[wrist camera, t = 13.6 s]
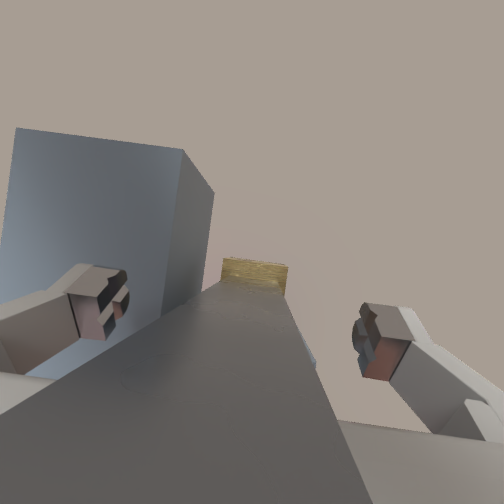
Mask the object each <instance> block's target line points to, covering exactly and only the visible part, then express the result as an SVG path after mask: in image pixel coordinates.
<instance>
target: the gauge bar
mask: <svg viewBox="0 0 504 504" xmlns="http://www.w3.org/2000/svg"><path fill="white" fill-rule="evenodd" d="M222 266H223V267H222V273H221V280H220V281H219V282H218V283H216V284H214V285H213V286H211V287H209V288H208V289H206V290H205V291H203V292H201V293H199V294H198V295H196V296H195V297H193V298H191V299H190V300H188V301H186V302H185V303H183V304H181V305H180V306H178V307H176V308H175V309H173V310H172V311H170V312H168V313H167V314H165V315H163V316H162V317H160V318H158V319H157V320H155V321H153V322H152V323H150V324H149V325H147V326H145V327H144V328H142V329H140V330H139V331H137V332H135V333H134V334H132V335H130V336H129V337H127V338H126V339H124V340H122V341H121V342H119V343H117V344H116V345H114V346H112V347H111V348H109V349H107V350H106V351H104V352H103V353H101V354H99V355H98V356H96V357H94V358H93V359H91V360H89V361H88V362H86V363H84V364H83V365H81V366H80V367H78V368H76V369H75V370H73V371H71V372H70V373H68V374H66V375H65V376H63V377H61V378H60V379H58V380H57V381H55V382H53V383H52V384H50V385H48V386H47V387H45V388H43V389H42V390H40V391H38V392H37V393H35V394H34V395H32V396H30V397H29V398H27V399H25V400H24V401H22V402H20V403H19V404H17V405H15V406H14V407H12V408H11V409H9V410H7V411H6V412H4V413H2V414H1V415H0V504H373V503H372V500H371V498H370V496H369V493H368V491H367V489H366V486H365V484H364V482H363V479H362V477H361V475H360V472H359V470H358V468H357V465H356V463H355V461H354V458H353V456H352V454H351V451H350V449H349V447H348V444H347V442H346V440H345V437H344V435H343V433H342V430H341V428H340V426H339V423H338V421H337V419H336V417H335V414H334V412H333V410H332V408H331V405H330V403H329V400H328V398H327V396H326V393H325V391H324V389H323V386H322V384H321V382H320V379H319V377H318V375H317V372H316V370H315V368H314V365H313V363H312V361H311V358H310V356H309V354H308V351H307V349H306V347H305V344H304V342H303V340H302V337H301V335H300V333H299V330H298V328H297V326H296V323H295V321H294V319H293V316H292V314H291V312H290V310H289V307H288V305H287V302H286V300H285V298H284V294H285V287H286V279H287V272H288V267H287V266H286V265H284V264H277V263H270V262H262V261H255V260H247V259H240V258H233V257H230V258H224V259H223V265H222Z"/></svg>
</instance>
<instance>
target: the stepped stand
mask: <svg viewBox="0 0 504 504" xmlns="http://www.w3.org/2000/svg"><path fill="white" fill-rule="evenodd" d="M213 200H214V192H213V190H212V189H211V187H210V186H209V185H208V183H207V182H206V180H205V179H204V178H203V176H202V175H201V174H200V172H199V171H198V169H197V168H196V167H195V165H194V164H193V163H192V161H191V160H190V158H189V157H188V156H187V154H186V153H185V151H184V150H183V149H177V148H169V147H161V146H153V145H146V144H138V143H131V142H123V141H115V140H108V139H99V138H92V137H84V136H77V135H69V134H61V133H54V132H46V131H39V130H31V129H23V128H16V131H15V139H14V147H13V154H12V162H11V169H10V177H9V185H8V192H7V200H6V207H5V215H4V222H3V230H2V237H1V245H0V304H3V303H6V302H9V301H12V300H14V299H17V298H20V297H23V296H26V295H28V294H31V293H34V292H37V291H40V290H44V291H46V290H47V289H48V288H49V287H51V286H52V285H53V284H54V283H55V282H56V281H57V280H59V279H60V278H61V277H62V276H63V275H64V274H66V273H67V272H68V271H69V270H70V269H71V268H73V267H74V266H75V265H76V264H79V263H85V264H92V265H99V266H105V267H112V268H118V269H123V270H125V271H126V273H127V279H128V280H127V281H126V283H125V284H124V285H125V286H126V287H127V288H128V290H129V294H130V299H129V305H128V308H127V311H126V312H125V314H124V315H123V317H121V318H119V319H117V320H115V322H116V327H115V328H114V330H113V331H112V333H111V334H110V336H109V337H108V339H107V340H106V341H101V340H92V339H83V338H79V340H78V341H76V342H75V343H73V344H72V345H70V346H69V347H67V348H65V349H64V350H62V351H61V352H59V353H58V354H56V355H55V356H53V357H51V358H50V359H48V360H47V361H45V362H44V363H42V364H40V365H39V366H37V367H36V368H34V369H33V370H31V371H29V372H28V373H26V374H25V375H27V376H34V377H41V378H48V379H55V380H58V379H60V378H61V377H63V376H65V375H66V374H68V373H70V372H71V371H73V370H75V369H76V368H78V367H80V366H81V365H83V364H84V363H86V362H88V361H89V360H91V359H93V358H94V357H96V356H98V355H99V354H101V353H103V352H104V351H106V350H107V349H109V348H111V347H112V346H114V345H116V344H117V343H119V342H121V341H122V340H124V339H126V338H127V337H129V336H130V335H132V334H134V333H135V332H137V331H139V330H140V329H142V328H144V327H145V326H147V325H149V324H150V323H152V322H153V321H155V320H157V319H158V318H160V317H162V316H163V315H165V314H167V313H168V312H170V311H172V310H173V309H175V308H176V307H178V306H180V305H181V304H183V303H185V302H186V301H188V300H190V299H191V298H193V297H195V296H196V295H198V294H199V293H201V289H202V282H203V275H204V267H205V259H206V252H207V245H208V238H209V230H210V222H211V215H212V208H213ZM296 326H297V325H296ZM297 328H298V327H297ZM298 330H299V329H298ZM299 333H300V331H299ZM300 335H301V333H300ZM301 337H302V340H303V342H304V344H305V347H306V349H307V351H308V354H309V356H310V358H311V361H312V363H313V365H314V368H316V361H315V359H314V357H313V355H312V353H311V351H310V349H309V348H308V346H307V344H306V342H305V340H304V338H303V336H302V335H301Z"/></svg>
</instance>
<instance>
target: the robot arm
mask: <svg viewBox="0 0 504 504" xmlns="http://www.w3.org/2000/svg"><path fill="white" fill-rule="evenodd" d="M127 280H128V279H127V273H126V271H125V270H123V269H118V268H112V267H105V266H99V265H92V264H85V263H79V264H76V265H75V266H74V267H73V268H71V269H70V270H69V271H68V272H67V273H66V274H64V275H63V276H62V277H61V278H60V279H59V280H57V281H56V282H55V283H54V284H53V285H52V286H51V287H49V288H48V289H47V290H46V291H44V290H40V291H37V292H34V293H31V294H28V295H26V296H23V297H20V298H17V299H14V300H12V301H9V302H6V303H3V304H0V415H1V414H2V413H4V412H6V411H7V410H9V409H11V408H12V407H14V406H15V405H17V404H19V403H20V402H22V401H24V400H25V399H27V398H29V397H30V396H32V395H34V394H35V393H37V392H38V391H40V390H42V389H43V388H45V387H47V386H48V385H50V384H52V383H53V382H55V381H57V380H55V379H48V378H41V377H34V376H27V375H25V374H26V373H28V372H29V371H31V370H33V369H34V368H36V367H37V366H39V365H40V364H42V363H44V362H45V361H47V360H48V359H50V358H51V357H53V356H55V355H56V354H58V353H59V352H61V351H62V350H64V349H65V348H67V347H69V346H70V345H72V344H73V343H75V342H76V341H78V340H79V338H83V339H92V340H101V341H106V340H107V339H108V337H109V336H110V334H111V333H112V331H113V330H114V328H115V327H116V322H115V320H117V319H119V318H121V317H123V315H124V314H125V312H126V311H127V308H128V305H129V299H130V294H129V290H128V288H127V287H126V286H125V285H124V284H125V283H126V281H127ZM359 312H360V315H361V318H359V319H358V320H357V321H355V324H354V326H353V332H352V342H353V346H354V349H355V350H356V351H357V352H358V353H359V354H360V355H359V357H358V363H359V367H360V370H361V373H362V377H365V378H371V379H377V380H383V381H389V383H390V385H391V386H392V387H393V388H394V389H395V390H396V392H397V393H398V394H399V395H400V396H401V397H402V398H403V400H404V401H405V402H406V403H407V404H408V406H409V407H411V409H412V410H413V411H414V413H415V414H416V415H417V416H418V417H419V418H420V419H421V421H422V422H423V423H424V424H425V425H426V426H427V428H428V429H429V430H430V431H431V432H432V433H433V434H432V433H425V432H418V431H411V430H404V429H397V428H390V427H383V426H376V425H369V424H362V423H355V422H348V421H341V420H337V421H338V423H339V426H340V428H341V430H342V433H343V435H344V437H345V440H346V442H347V444H348V447H349V449H350V451H351V454H352V456H353V458H354V461H355V463H356V465H357V468H358V470H359V472H360V475H361V477H362V479H363V482H364V484H365V486H366V489H367V491H368V493H369V496H370V498H371V500H372V503H373V504H504V392H503V391H502V390H500V389H499V388H498V387H496V386H495V385H493V384H492V383H491V382H489V381H488V380H487V379H485V378H484V377H482V376H481V375H480V374H478V373H477V372H476V371H474V370H473V369H471V368H470V367H468V366H467V365H466V364H464V363H463V362H462V361H460V360H459V359H457V358H456V357H454V355H452V354H451V353H449V352H448V351H447V350H445V349H444V348H442V347H441V346H440V345H435V344H434V343H433V342H432V340H431V338H430V337H429V335H428V334H427V332H426V330H425V328H424V327H423V325H422V324H421V322H420V320H419V319H418V317H417V315H416V314H415V313H414V311H413V310H412V309H411V308H409V307H399V306H387V305H380V304H372V303H365V302H364V304H362V306H361V308H360V311H359Z"/></svg>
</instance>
